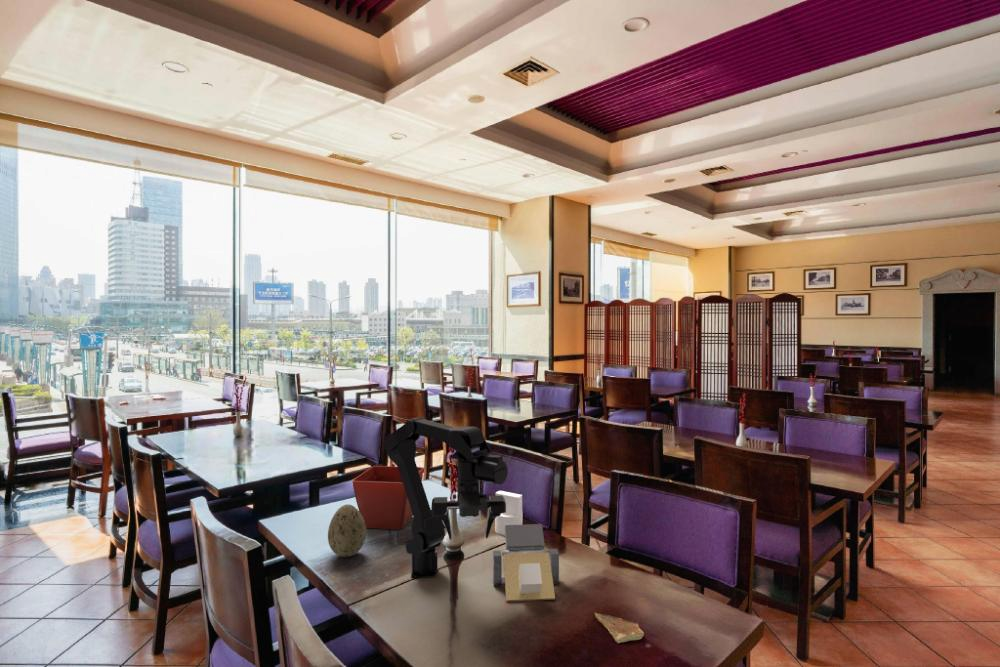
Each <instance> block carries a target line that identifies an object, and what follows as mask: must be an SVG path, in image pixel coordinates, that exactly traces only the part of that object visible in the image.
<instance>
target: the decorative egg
mask: <svg viewBox="0 0 1000 667" xmlns="http://www.w3.org/2000/svg"><path fill="white" fill-rule="evenodd" d="M366 538H367V528H366V525H365V522H364V519H363V517H362V515H361V513H360V512H359V509H357V508H356V507H355V506H354V505H352V504H349V503H348V504H344V505H341V506H339V508H337V510H336V511H335V513H334V514H333V516H332V518H331V520H330V523H329V525H328V529H327V541H328V545H329V548H330V549H331V551H332V552H333V553H334V554H335V555H336V556H338V557H341V558H349V557H352V556H355V555H356V554H357V553H359V551H360V550H361V549H362V548H363V546H364V544H365V541H366Z"/></svg>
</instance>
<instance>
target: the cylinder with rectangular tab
mask: <svg viewBox="0 0 1000 667" xmlns="http://www.w3.org/2000/svg"><path fill="white" fill-rule="evenodd" d="M500 495H502V496H503V497H504V498H505V502H506V512H505V513H501V515H500V516H497V517H496V518H495V520H494V531H495V533H496V534H498V535H500V536H505V525H523V494H518V493H514V492H509V491H504V490H498V491H496V492H495V496H500Z"/></svg>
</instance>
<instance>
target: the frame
mask: <svg viewBox="0 0 1000 667" xmlns="http://www.w3.org/2000/svg"><path fill="white" fill-rule="evenodd" d="M548 549H549V551H550V554H549V557H550V564H551V572H552V579H553V585H559V584H560V553H559V551H558V548H548ZM502 564H503V556H502V551H501V550H493V551H492V582H493V583H492V584H493V588H494V587H499V588H500V587H505V577H502V576H503V575H502V572H503V570H502V569H503V568H502V567H503V566H502Z"/></svg>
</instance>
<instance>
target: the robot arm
mask: <svg viewBox="0 0 1000 667" xmlns="http://www.w3.org/2000/svg"><path fill="white" fill-rule="evenodd" d="M421 437H424V438H428V439H432V440H434V441H438V442H443V443H445V444H447V445H448V447H449V448H450V449H452V450H454V451H455V452H453V453H452V454H451V455H450V459H454V460H456V461H457V466H456V467H457V473H456V475H457V479H456V480H457V485H456V486H457V493H456V494H457V495H456V498H457V499H456V500H451V501H450V500H449V501H448V496H439V497H438V496H436V497H435V496H434V497H433V498H432V500H431V506H430V502H429V500H428V497H427V493H426V491H425V488H424V484H423V480H422V481H421V478H420V475H419V472H418V469H417V467H418V466H417V462H416V455H417V454H416V453H417V449H418V448H417V443H416V442H417V441H418V440H419V439H420V438H421ZM383 446H384V450H385V453H387V456H388V459H389V460H391V461H392V463H394V464H395V466H398V469H399V472H400V475H401V479H402V482H403V485H404V488H405V491H406V495H407V498H408V501H409V504H410V507H411V510H412V514H413V517H412V523H411V533H412V534H411V535H412V537H411V539H409V541H407V543H406V544H405V550H406V553H407V554H409V555H411V573H410V578H431V577H432V578H433V577H434V578H435V577H436V573H437V572H438V569H439V567H438V566H439V557H438V556H439V552H437V551H436V550H437V548H439V547H441V545H442V542H443V540H444V539H445V536H446V532H447V535H448V538H449V540H451V541H452V526H451V525H452V524H451V516H450V510H459V517H462V518H466V517H474V518H475V517H478V516H479V515H480V511H482V512H483V511H484V510H485V511H486V510H487V514H486V522H485V524H486V526H485V539H488V538H489V535H490V532H491V529H492V526H493V524H494V522H495V518H496V517H497V516H500V515H501V513H505V512H506V502H505V498H504V497H503V496H502V495H500V496H496V495H489V496H488V495H487V494H481V489H480V488H481V482H485V483H489V484H493V485H498V486H500V485H503V484H504V482H506V480H507V477H508V474H509V472H508V471H509V469H508V465H507V463H506V462H505V461H504V458H503V456H502V455H494V454H493V451H492V449H491V448H490V446H489V444H488V442H487V440H486V439H485V437H484V434H483V432H482V430H481V429H480V428H479V427H477V426H452V425H449V424H444V423H441V422H436V421H433V420H429V419H425V418H424V417H415V418H410V419H408V420H407V421H406V422H405V423H404V424H403V425H401V426H400V427H398V428H397V429H395V430H394V431H392V432H391V433H389V434H387V435H386V436H385V440H384V441H383ZM475 450H476V451H475ZM445 530H446V532H445Z"/></svg>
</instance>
